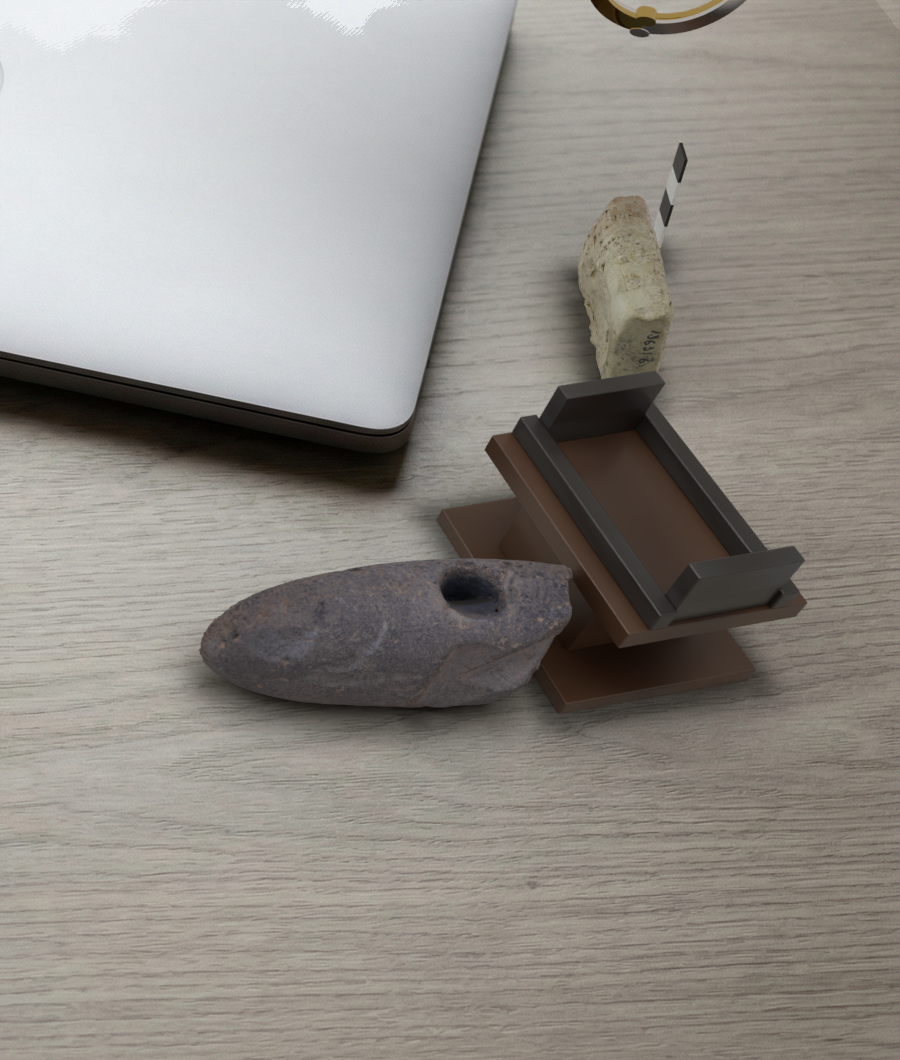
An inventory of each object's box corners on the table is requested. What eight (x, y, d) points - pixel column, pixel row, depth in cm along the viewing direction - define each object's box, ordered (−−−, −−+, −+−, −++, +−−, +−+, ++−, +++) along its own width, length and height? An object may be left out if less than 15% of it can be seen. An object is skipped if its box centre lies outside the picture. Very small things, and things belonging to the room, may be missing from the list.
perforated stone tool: (194, 729, 72) (237, 635, 67) (172, 628, 76) (212, 531, 70) (548, 732, 72) (620, 638, 67) (511, 631, 76) (576, 534, 70)
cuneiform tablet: (649, 251, 91) (693, 411, 84) (557, 253, 92) (592, 411, 85) (682, 142, 86) (732, 302, 78) (583, 146, 87) (623, 305, 80)
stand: (609, 493, 81) (699, 359, 74) (746, 682, 74) (860, 555, 67) (433, 522, 80) (508, 389, 72) (556, 717, 73) (651, 591, 66)
